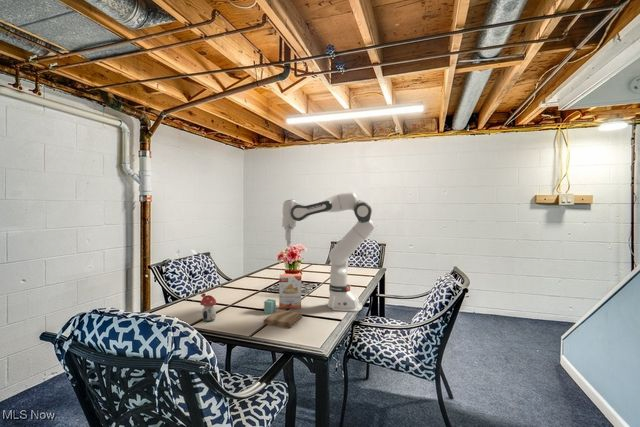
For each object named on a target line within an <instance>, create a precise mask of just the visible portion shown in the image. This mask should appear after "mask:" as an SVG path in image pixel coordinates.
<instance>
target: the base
mask: <svg viewBox="0 0 640 427" xmlns="http://www.w3.org/2000/svg"><path fill="white" fill-rule="evenodd" d="M302 318H303V313H302V312H298V311H293V310H287V309H285V310H283V309H276V311H275V312H274V313H272V314H269V315H268V316H266V317H265V319H263V324H264V325H269V326H274V327H279V328H286V329H292V328H293V326H294V325H295V324H296V323H298V322H299V321H300V320H301V319H302Z"/></svg>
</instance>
